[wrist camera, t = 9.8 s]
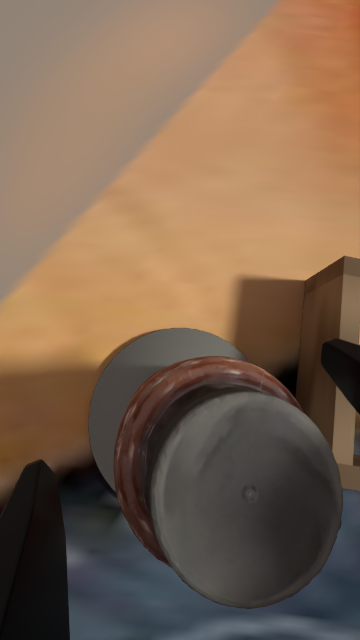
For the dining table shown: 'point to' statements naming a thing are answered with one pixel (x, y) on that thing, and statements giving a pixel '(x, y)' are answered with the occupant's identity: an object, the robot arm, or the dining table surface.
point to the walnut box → (312, 380)
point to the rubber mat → (141, 381)
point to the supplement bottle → (228, 481)
